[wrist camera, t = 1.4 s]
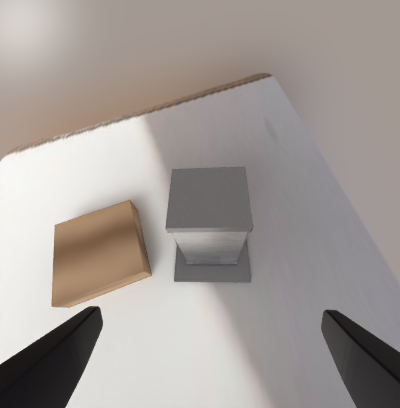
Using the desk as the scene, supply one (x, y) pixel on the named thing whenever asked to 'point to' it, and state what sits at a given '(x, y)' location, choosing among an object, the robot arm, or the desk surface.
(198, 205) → the block
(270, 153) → the desk surface
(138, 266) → the stand
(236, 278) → the pad
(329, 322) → the robot arm
